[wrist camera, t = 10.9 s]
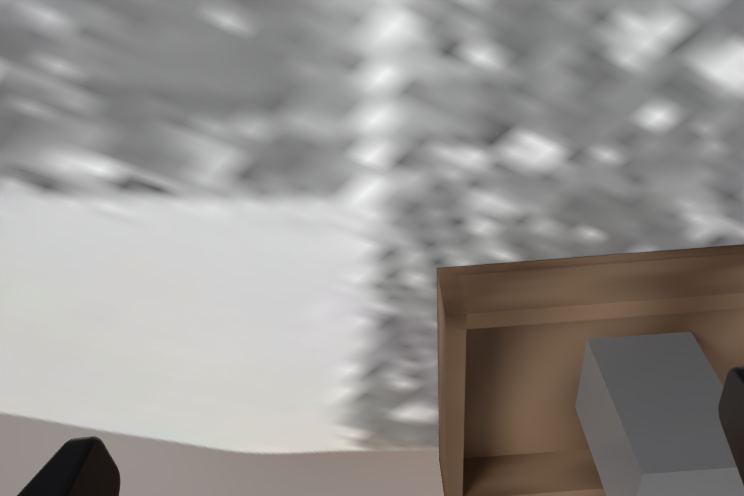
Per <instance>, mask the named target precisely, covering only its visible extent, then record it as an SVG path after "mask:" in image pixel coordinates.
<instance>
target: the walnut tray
mask: <svg viewBox="0 0 744 496" xmlns="http://www.w3.org/2000/svg"><path fill="white" fill-rule="evenodd" d="M437 317H438V395H439V461H440V469H441V476H442V483H443V490H444V496H606V493H605V490H604V488H603V485H602V482H601V479H600V476H599V473H598V471H597V468H596V465H595V462H594V459H593V456H592V454H591V451H590V448H589V445H588V442H587V439H586V436H585V434H584V431H583V428H582V425H581V422H580V419H579V417H578V414H577V411H576V408H575V404H576V399H577V393H578V388H579V382H580V376H581V371H582V365H583V360H584V354H585V348H586V343H587V339H596V338H610V337H623V336H637V335H650V334H664V333H678V332H691V333H692V334H693V336H694V338H695V339H696V341H697V343H698V344H699V346H700V348H701V349H702V351H703V353H704V355H705V356H706V358H707V360H708V361H709V363H710V365H711V366H712V368H713V370H714V371H715V373H716V375H717V377H718V378H719V380H720V382H721V383H722V385H723V387H724V384H725V380H726V377H727V374H728V372H729V371H730V370H731V369H732V368H734V367H740V366H744V245H734V246H721V247H708V248H695V249H682V250H669V251H656V252H643V253H630V254H617V255H604V256H591V257H578V258H565V259H552V260H539V261H526V262H513V263H500V264H487V265H474V266H461V267H448V268H437Z"/></svg>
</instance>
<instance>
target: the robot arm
mask: <svg viewBox="0 0 744 496" xmlns="http://www.w3.org/2000/svg"><path fill="white" fill-rule="evenodd" d="M718 413H719V419H720V422H721V425H722V428H723V431H724V433H725V436H726V439H727V442H728V444H729V447H730V450H731V453H732V455H733V458H734V461H735V464H736V466H737V469H738V472H739V475H740V477H741V480H742V483H743V485H744V366H740V367H734V368H732V369H731V370H730V371H729V372H728V374H727V377H726V380H725V384H724V387H723V391H722V394H721V398H720V401H719V406H718ZM119 490H120V474H119V470H118V467H117V466H116V464H115V462H114V460H113V459H112V457H111V455H110V454H109V452H108V450H107V448H106V447H105V445H104V443H103V442H102V440H101V439H100V438H98V437H95V436H92V437H83V438H74V439H71V440H69V441H67V442H66V443H65V444H64V445H63V446H62V447H61V448H60V449H59V450H58V451H57V452H56V453H55V454H54V456H53V457H52V458H51V459H50V460H49V461H48V462H47V463H46V464H45V465H44V466H43V468H42V469H41V470H40V471H39V472H38V473H37V474H36V475H35V476H34V477H33V479H32V480H31V481H30V482H29V483H28V484H27V485H26V486H25V487H24V488H23V489H22V491H21V492H20V493H19V494H18V495H17V496H119Z"/></svg>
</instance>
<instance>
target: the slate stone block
mask: <svg viewBox="0 0 744 496" xmlns="http://www.w3.org/2000/svg"><path fill="white" fill-rule="evenodd" d="M722 391H723V385H722V383H721V382H720V380H719V378H718V377H717V375H716V373H715V371H714V370H713V368H712V366H711V365H710V363H709V361H708V360H707V358H706V356H705V355H704V353H703V351H702V349H701V348H700V346H699V344H698V343H697V341H696V339H695V338H694V336H693V334H692V333H691V332H678V333H664V334H650V335H637V336H623V337H610V338H596V339H587V343H586V348H585V354H584V360H583V365H582V371H581V376H580V382H579V388H578V393H577V399H576V404H575V408H576V411H577V414H578V417H579V419H580V422H581V425H582V428H583V431H584V434H585V436H586V439H587V442H588V445H589V448H590V451H591V454H592V456H593V459H594V462H595V465H596V468H597V471H598V473H599V476H600V479H601V482H602V485H603V488H604V490H605V493H606V496H744V485H743V483H742V480H741V477H740V475H739V472H738V469H737V466H736V464H735V461H734V458H733V455H732V453H731V450H730V447H729V444H728V442H727V439H726V436H725V433H724V431H723V428H722V425H721V422H720V419H719V413H718V406H719V401H720V398H721V394H722Z"/></svg>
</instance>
